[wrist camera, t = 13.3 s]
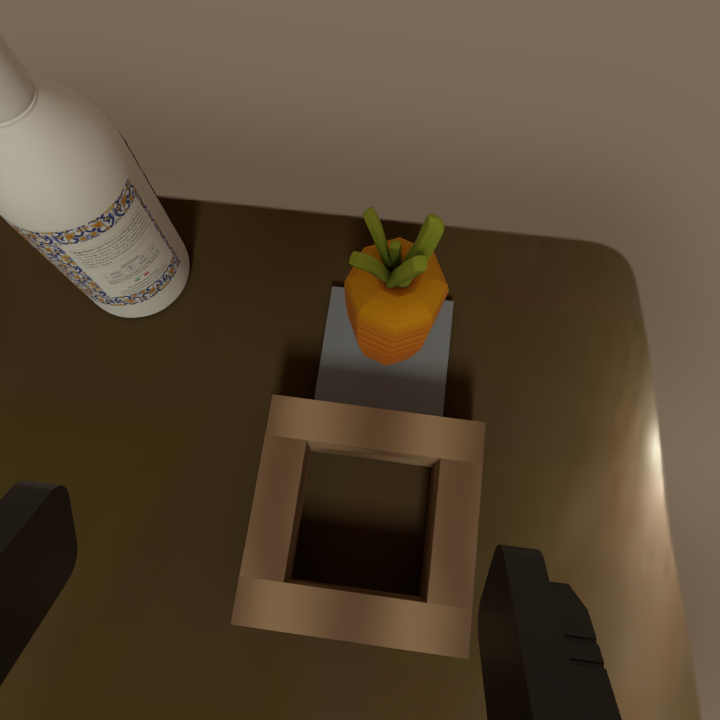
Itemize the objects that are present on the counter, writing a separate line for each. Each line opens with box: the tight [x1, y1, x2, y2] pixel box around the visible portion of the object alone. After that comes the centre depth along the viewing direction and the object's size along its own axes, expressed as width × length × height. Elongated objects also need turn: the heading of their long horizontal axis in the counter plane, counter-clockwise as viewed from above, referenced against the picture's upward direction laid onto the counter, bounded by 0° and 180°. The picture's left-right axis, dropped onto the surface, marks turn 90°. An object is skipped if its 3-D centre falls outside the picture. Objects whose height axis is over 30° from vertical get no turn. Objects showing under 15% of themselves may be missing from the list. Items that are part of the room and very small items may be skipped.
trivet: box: [314, 286, 454, 417], centre depth 38 cm, size 8×8×1 cm
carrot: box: [344, 207, 449, 366], centre depth 31 cm, size 5×5×15 cm
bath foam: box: [0, 34, 190, 318], centre depth 30 cm, size 7×7×20 cm
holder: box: [231, 394, 486, 659], centre depth 33 cm, size 12×12×4 cm
